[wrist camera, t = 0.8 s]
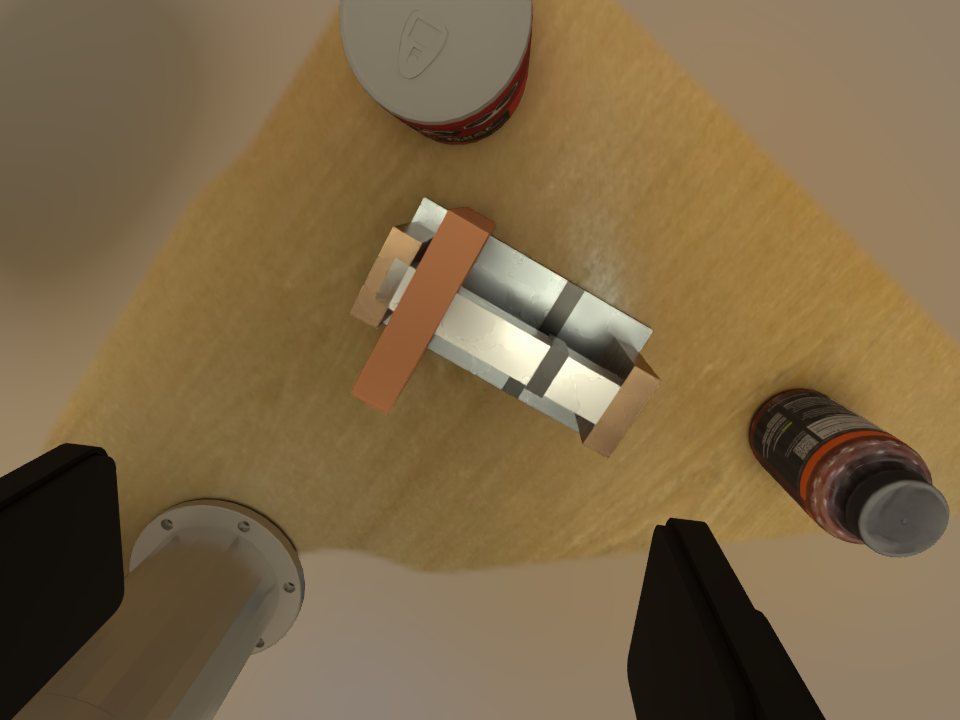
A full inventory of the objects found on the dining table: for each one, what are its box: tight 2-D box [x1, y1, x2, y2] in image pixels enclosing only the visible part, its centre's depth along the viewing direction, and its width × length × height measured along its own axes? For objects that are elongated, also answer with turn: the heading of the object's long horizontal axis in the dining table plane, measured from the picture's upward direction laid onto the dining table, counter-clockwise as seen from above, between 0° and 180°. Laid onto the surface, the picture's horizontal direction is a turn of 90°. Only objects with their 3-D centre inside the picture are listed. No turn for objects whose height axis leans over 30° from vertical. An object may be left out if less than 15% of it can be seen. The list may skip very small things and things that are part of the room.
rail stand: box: [349, 197, 662, 458], centre depth 34 cm, size 16×8×7 cm, turn 61°
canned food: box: [339, 0, 533, 144], centre depth 29 cm, size 8×8×11 cm
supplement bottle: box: [750, 390, 949, 557], centre depth 33 cm, size 6×6×11 cm
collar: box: [350, 207, 496, 415], centre depth 31 cm, size 2×10×10 cm, turn 150°
